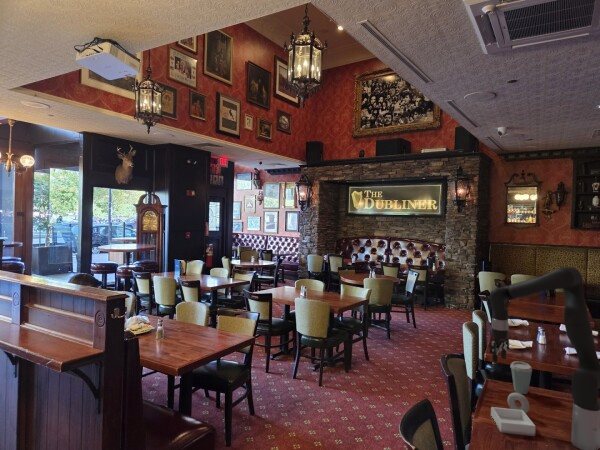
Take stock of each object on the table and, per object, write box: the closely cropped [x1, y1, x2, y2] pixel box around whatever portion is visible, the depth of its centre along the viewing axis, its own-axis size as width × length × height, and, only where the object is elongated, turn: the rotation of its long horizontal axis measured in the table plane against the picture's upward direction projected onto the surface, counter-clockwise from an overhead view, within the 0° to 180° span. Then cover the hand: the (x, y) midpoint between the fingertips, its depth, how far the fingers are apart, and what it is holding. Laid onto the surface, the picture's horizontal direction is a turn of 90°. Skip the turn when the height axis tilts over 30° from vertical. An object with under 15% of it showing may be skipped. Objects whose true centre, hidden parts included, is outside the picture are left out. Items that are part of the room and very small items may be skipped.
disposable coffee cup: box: [509, 360, 533, 395], centre depth 214 cm, size 11×11×15 cm
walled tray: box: [490, 406, 536, 437], centre depth 179 cm, size 14×14×4 cm
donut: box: [507, 391, 530, 414], centre depth 190 cm, size 10×4×10 cm, turn 37°
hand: (499, 360), depth 195 cm, fingers open, 8 cm apart
